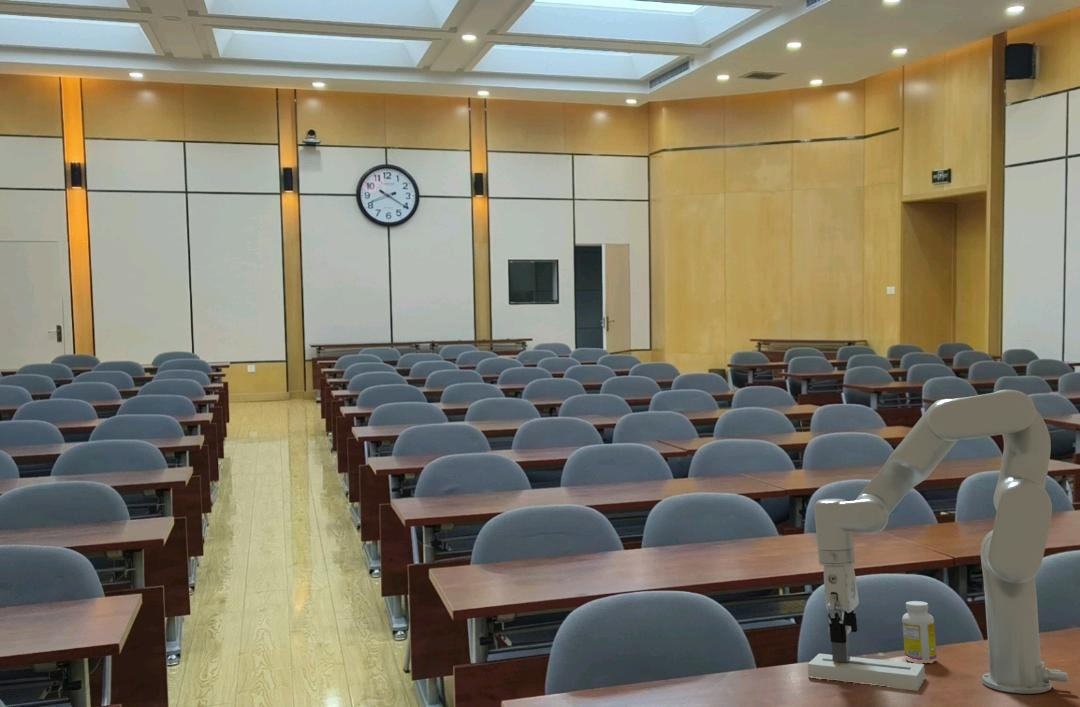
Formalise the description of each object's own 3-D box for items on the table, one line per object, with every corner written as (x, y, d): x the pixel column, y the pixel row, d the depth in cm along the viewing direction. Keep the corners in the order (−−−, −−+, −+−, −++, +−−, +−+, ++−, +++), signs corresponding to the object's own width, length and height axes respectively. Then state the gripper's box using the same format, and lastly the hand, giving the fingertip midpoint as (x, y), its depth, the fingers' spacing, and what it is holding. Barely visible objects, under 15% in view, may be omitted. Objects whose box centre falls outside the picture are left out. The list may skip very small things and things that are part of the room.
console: (925, 678, 195) (924, 663, 196) (917, 690, 188) (916, 675, 188) (819, 667, 207) (818, 653, 207) (808, 678, 199) (807, 663, 199)
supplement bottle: (931, 656, 211) (927, 599, 212) (941, 664, 205) (937, 606, 206) (901, 657, 212) (897, 600, 213) (909, 665, 205) (906, 606, 206)
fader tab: (852, 659, 200) (851, 626, 201) (849, 663, 197) (847, 629, 198) (834, 657, 203) (832, 624, 203) (829, 661, 199) (828, 628, 200)
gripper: (844, 563, 192) (852, 648, 191) (863, 550, 207) (871, 628, 205) (808, 563, 196) (816, 645, 194) (829, 550, 210) (836, 626, 209)
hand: (844, 636), depth 200 cm, fingers open, 9 cm apart
